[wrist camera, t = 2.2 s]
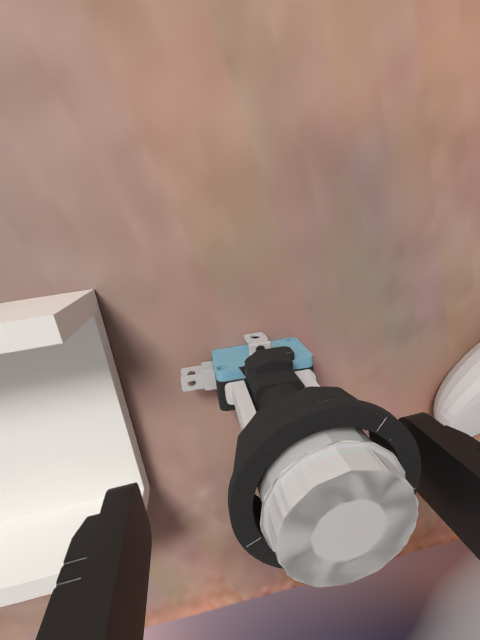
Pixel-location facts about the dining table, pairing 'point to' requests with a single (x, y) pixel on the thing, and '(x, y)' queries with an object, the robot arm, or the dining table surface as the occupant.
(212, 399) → the dining table surface
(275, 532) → the push button
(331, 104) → the dining table surface
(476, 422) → the game controller
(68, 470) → the box
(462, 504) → the robot arm
